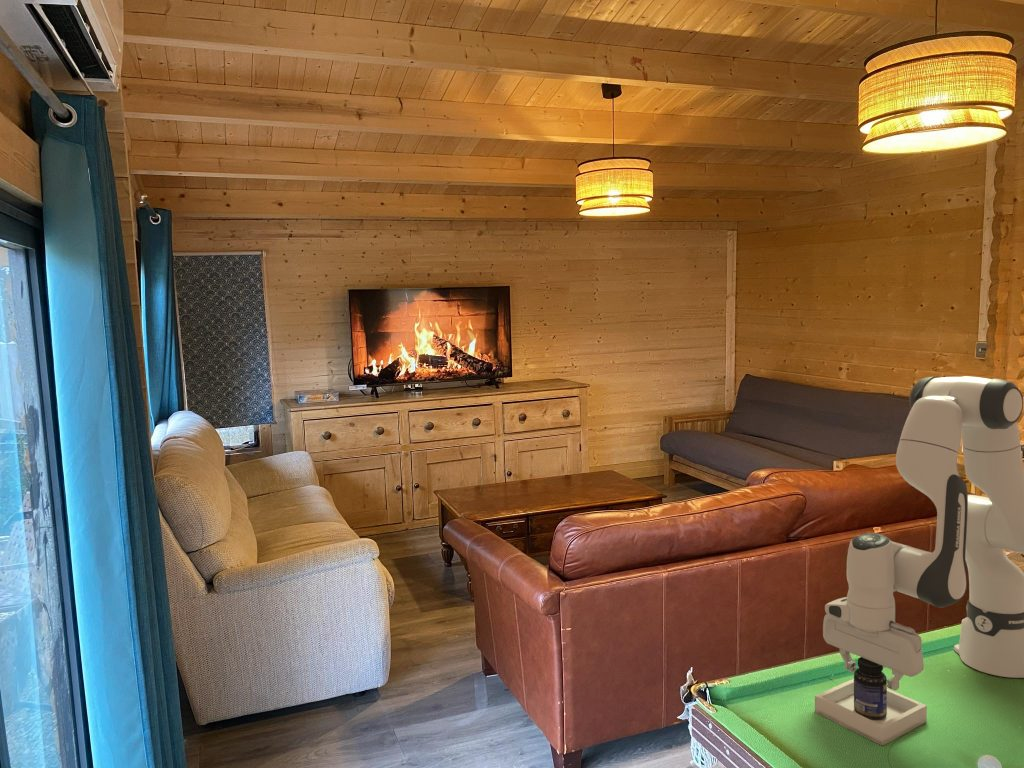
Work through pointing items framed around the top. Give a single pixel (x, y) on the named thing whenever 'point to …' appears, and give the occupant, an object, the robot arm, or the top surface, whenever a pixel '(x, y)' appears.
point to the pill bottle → (870, 690)
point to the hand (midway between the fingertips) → (871, 679)
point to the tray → (897, 722)
